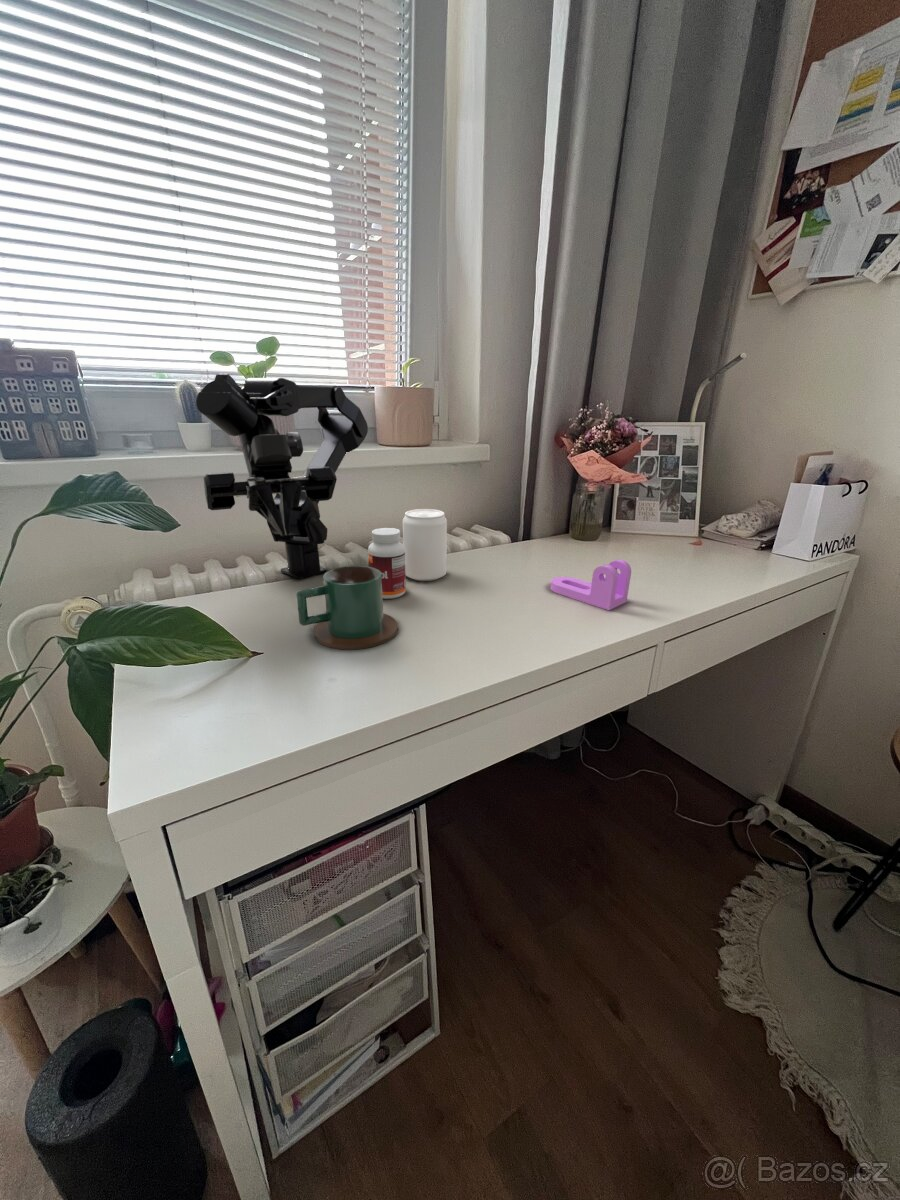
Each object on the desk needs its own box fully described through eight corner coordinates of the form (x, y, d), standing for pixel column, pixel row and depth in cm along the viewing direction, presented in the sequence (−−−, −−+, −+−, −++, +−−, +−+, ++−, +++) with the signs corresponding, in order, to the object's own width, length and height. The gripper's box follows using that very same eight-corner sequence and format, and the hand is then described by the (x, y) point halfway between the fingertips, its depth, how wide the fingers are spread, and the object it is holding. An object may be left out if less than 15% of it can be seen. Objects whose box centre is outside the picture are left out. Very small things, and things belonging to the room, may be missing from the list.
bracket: (626, 601, 85) (632, 562, 82) (608, 610, 81) (614, 569, 79) (562, 581, 93) (566, 545, 91) (544, 588, 90) (547, 551, 87)
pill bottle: (362, 593, 87) (358, 531, 83) (388, 584, 91) (386, 524, 87) (387, 602, 83) (384, 537, 79) (413, 592, 87) (412, 530, 83)
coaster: (297, 630, 73) (297, 627, 73) (363, 607, 81) (363, 604, 81) (347, 658, 65) (347, 654, 65) (414, 629, 74) (414, 626, 73)
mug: (372, 611, 78) (369, 562, 75) (392, 631, 72) (390, 578, 69) (294, 627, 73) (288, 574, 70) (308, 650, 66) (302, 593, 63)
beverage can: (448, 569, 99) (449, 509, 95) (443, 583, 92) (444, 518, 87) (407, 567, 100) (406, 507, 95) (400, 581, 93) (398, 517, 88)
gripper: (192, 412, 68) (215, 509, 63) (328, 412, 76) (357, 497, 72) (197, 465, 77) (218, 553, 72) (318, 459, 86) (343, 537, 81)
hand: (285, 534), depth 74 cm, fingers closed
